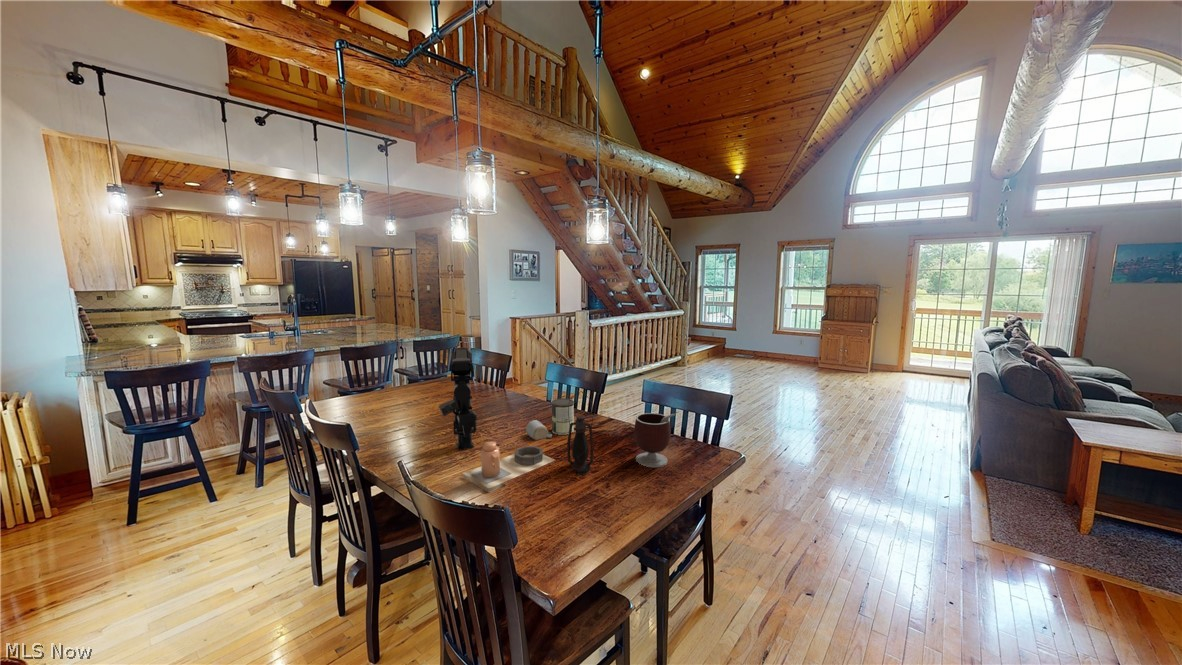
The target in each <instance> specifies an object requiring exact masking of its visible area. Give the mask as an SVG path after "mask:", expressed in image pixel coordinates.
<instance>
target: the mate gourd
mask: <svg viewBox="0 0 1182 665" xmlns="http://www.w3.org/2000/svg"><path fill="white" fill-rule="evenodd" d="M675 416H676V413H671V414H668V415H665V414H661V413H655V412H654V413H653V412H646V413H645V412H644V413H640V414H637V416H636V418H635V422H634V431H633V433H634V439H635V443H636V444H637V446H638V447H639V449H640V450H642V451H644V452H642V453H639V454H637V455H636V457H635V462H636V463H637V462H638V463H639V465H640V464H641V465H640V466H642V465H643V467H645V466H646V467H647V468H662V467H664V466H666V465H667V464H668V461H669V460H668V458H667V457H666V456H665V455H663V454H660V452H662V451H664V450H665V449H666V448H667V447H668V445H670V444H669V443H670V440H671V435H672V434H671V432H672V431H671V430H672V428H671V421H670V420H671V419H670V418H672V417H675ZM638 463H637V464H638Z"/></svg>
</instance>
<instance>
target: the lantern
mask: <svg viewBox="0 0 1182 665" xmlns="http://www.w3.org/2000/svg"><path fill="white" fill-rule="evenodd" d="M580 393H582V394H583V395H584V396H585V397H587V398H588V399H589V401H590V403H591V409H592V411H594V406H593V405H594V403H593V402H592V400H591V398H590V397H589V396H587V395H586V394H585V393H584V392H583V391H580V390H579V391H578V392H577V393H575V394H574V395H573V396H572V397H570V398H569V399H570V401H571V400H573V399H572V398H574V397H576V396H577V395H578V394H580ZM570 401H569V402H570ZM568 417H569V407H568ZM591 417H592V418H591V422H593V420H594V415H592V416H591ZM569 425H570V426H569V434H568V436H567V442H566V443H567V445H566V451H567V452H566V455H567V456H566V458H567V459H566V461H567V462H568V463H569V464H570V468H571V469H572V470H576V471H575V472H574V473H575V475H577V474H579V475H587V474H588V473H590V472H591V471H592V470H591V465H593V464H594V447H595V446H594V440H593V439H594V438H593V437H594V436H593V428H592V427H593V423H591V424H590V423H587V421H586V416H585V415H583V414H582V415H579V414H578V415H577V416H575V419H574V423H571V424H570V421H569ZM573 425H574V432H575V435H574V437H573V439H571V438H572V433H571V432H572V426H573ZM587 427H588V428H587ZM587 430H588V432H589V433H588V434H589V441H588V439H587V435H586V431H587ZM571 440H572V441H571ZM571 442H572V443H571ZM588 442H590V444H589V443H588ZM589 447H590V448H589ZM589 449H590V450H589ZM589 454H590V456H589ZM589 457H590V459H589V461H587V460H588V458H589ZM589 471H590V472H589ZM587 472H588V473H587ZM586 473H587V474H586Z"/></svg>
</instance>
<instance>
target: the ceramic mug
mask: <svg viewBox="0 0 1182 665" xmlns="http://www.w3.org/2000/svg"><path fill="white" fill-rule="evenodd" d="M525 433H526V434H527V436H529V437H530V438H531V439H533V440H534V441H537V440H541V439H545V440H546V439H547V438H548V439H549V438H550V439H551V438H553V434H552V432H550V431H548V429H547V427H546V426H545V425H544V424H543V423H542V422H541V421H539V420H537V419H536V420H535V419H534V420H531V421H529V422H528V423H527V425H526V428H525Z"/></svg>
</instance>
